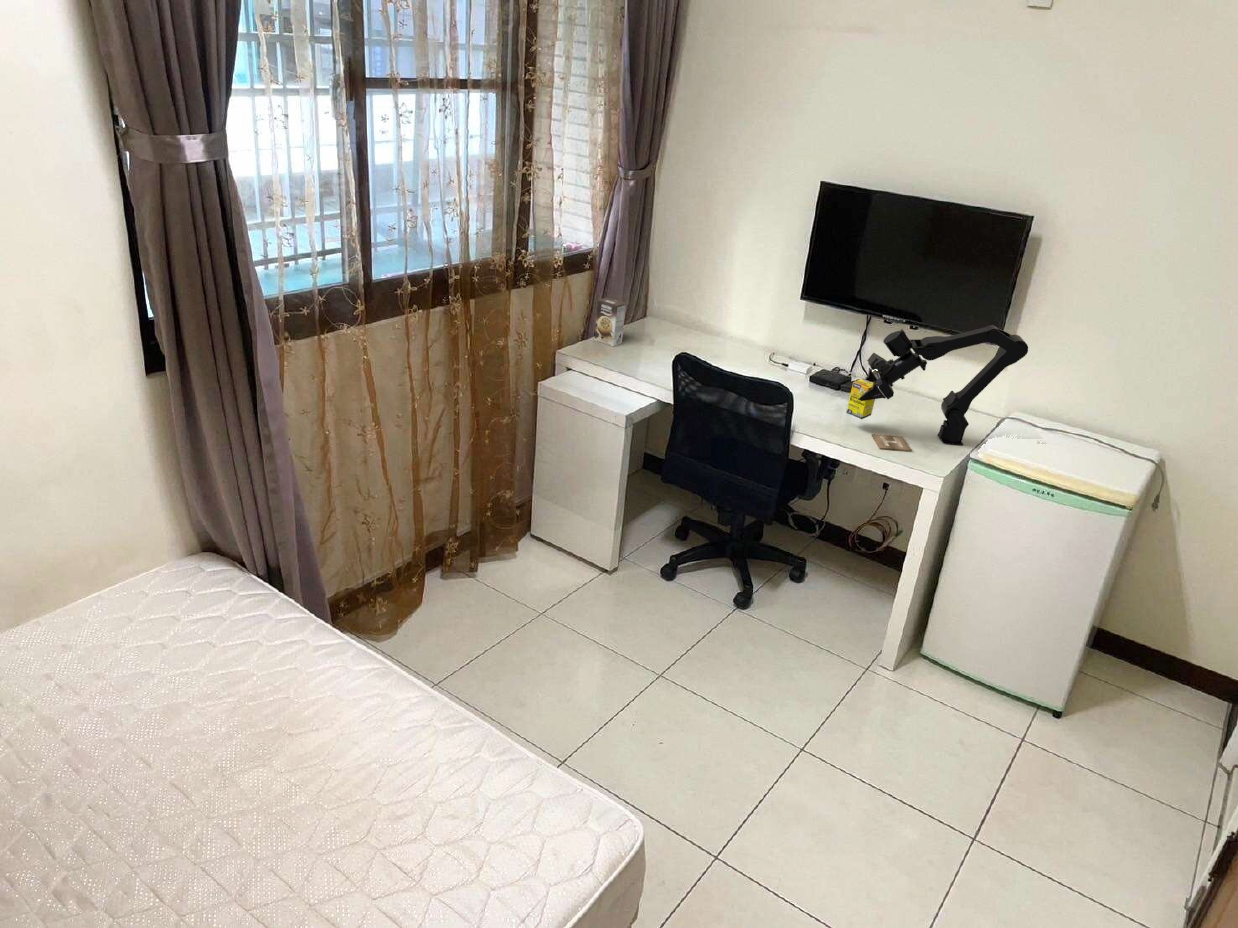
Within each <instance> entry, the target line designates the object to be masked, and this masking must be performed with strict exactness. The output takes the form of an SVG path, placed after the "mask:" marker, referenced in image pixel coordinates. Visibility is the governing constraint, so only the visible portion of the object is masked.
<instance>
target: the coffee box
mask: <svg viewBox="0 0 1238 928" xmlns="http://www.w3.org/2000/svg"><path fill="white" fill-rule="evenodd" d="M626 307H627V303H626V302H624V301H620V300H618V299H615V298H610V297H607V296H606V297H603V298H600V299H598V300H597V307H596V308H597V309H596V319H595V330H594V341H596V342H598V343H601V344H604V345H607V346H610V347H615V346H618V345H621V344H622V343H623V335H624V325H625V316H626V309H627V308H626Z"/></svg>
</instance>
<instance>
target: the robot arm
mask: <svg viewBox="0 0 1238 928" xmlns="http://www.w3.org/2000/svg"><path fill="white" fill-rule="evenodd" d="M882 342H883V344H884V345H885V347H886V348H887V349H888V350H889V352H890V353H891V354H892V356H893V357H897V358H896V359H893V358H891V359H889V360H886V359H885V358H883V357H882V356H881V355H879V354H877V353H876V352H872V353H871V355H870V356H869V357H868V359H867V364H868V366H870V367H869V368H868V374H867V376H866V377H865V378H864V379H865V380H867V381H870V382H873V385H872V388H871V389H869V390H868V391H867V392H866V393H865V394H863V395H862V396H861V397H860V398H859V399H860V401H866V400H872V399H875V400H879V399H883V400H885V399H887V400H889V399H891V398H893V397H894V394H895V392H894V389H893V386H894V384H895V383H896V382H897V381H898V380H900V379H901V380H902V381H903V380H905V378H906V377H905V376H907V375H908V374H910V373H911V372H912V371H914V370H916V369H917V368H919V367H920V368H921V370H922V371H926V368H927V364H928V361H929V362H930V361H935V360H937V359H939V358H942V357H944V356H945V355H947V354H948V353H950V352H954V351H957V350H960V349H964V348H968V347H972V346H977V345H981V344H984V343H989V342H990V343H991V342H992V343H994V344H995V345H997V346H998V348H997V351H996V353H995V355H994V357H992V359H990V360H989V362H988V363H987V364H985V365H984V367H983V368H981V369H980V371H979V372H978V373H976V375H975V376H974V377H973V378H972V379H971V380H970V381H969V382H968V383H967V384H966V385H965V386H964V387H963V388H962V389H960V390H959V391H956V392H954V391H953V390H951V391H949V393H948V394H947V395H946V397H943V398H942V402H941V405H940V408H941V411H942V413H943V416H944V417H945V419H944V420H943V422H942V424H941V425H940V429H939V431H938V433H937V437H938V438H939V440H940V441H941V442H942V444H944V445H956V446H963V445H964V442H963V437H964V435H965V431H966V429H967V427H968V426H969V424H970V423H969V422H968V420H967V418H966V416H965V415H966V413H967V412H968V411H969V408H970V407H971V404H972V402H973V401H974V399H975V398H977V396H979V394H981V393H982V392H983V390H984V389H986V388H987V386H989V385H990V384H991V383H992V382H993V380H995V378H997V377H998V376H999V375H1000V373H1002V371H1004V370H1005V369H1006V368H1007V367H1009V366H1011V365H1014V364H1016V363H1018V362H1019V361H1020V360H1022V359H1023V358H1024V357H1026V356H1027V354H1028V352H1029V346H1028V344H1027V343H1026V341H1025V340H1024V339H1023V338H1022V337H1021V336H1020V335H1018V334H1011V333H1009V332H1008V331H1005V330H1003V329H1000V328H999V327H997V326H995V325H993V324H990V325H987V326H984V327H981V328H977V329H972V330H968V331H965V332H962V333H957V334H952V335H948V336H942V335H941V336H940V335H936V336H935V335H933V336H925V337H923V338H921V339H918V338H917V339H915V338H913V339H910V338H909V337H908V335H907V333H906V332H905V330H904V329H903V328H902V329H900V330H897V331H894V332H890V333H889V334H888V335H886V336H885V338H883V340H882ZM912 350H913V351H912ZM922 358H923V359H922Z"/></svg>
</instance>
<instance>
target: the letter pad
mask: <svg viewBox="0 0 1238 928" xmlns="http://www.w3.org/2000/svg"><path fill="white" fill-rule="evenodd" d="M870 436H871V437H872V440H873V441H874V442H875V444H876V446H877V448H878V449H879V450H884V451H895V452H906V453H907V452H909V453H912V449H911V447H910V445H909V444H908V443H907V441H906V439H905V438H904V436H903V435H891V434H879V433H871V434H870Z"/></svg>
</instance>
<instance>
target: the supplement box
mask: <svg viewBox="0 0 1238 928" xmlns="http://www.w3.org/2000/svg"><path fill="white" fill-rule="evenodd" d="M872 385H873V382H870V381H867V380H865V378H860V379H858V380H856V381H853V382H852V386H851V390H850V394H849V395H850V396H849V399H848V405H847V408H846V414H848V415H851V416H853V417H855V418H859V420H863V419H865V418H868V417H870V416H872V414H873V408H874V405H875V403H876V399H872V400H866V401H860V399H859V398H860V397H861V396H862V395H863V394H865V393H866V392H867V391H868V390H869V389H871V388H872Z"/></svg>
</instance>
